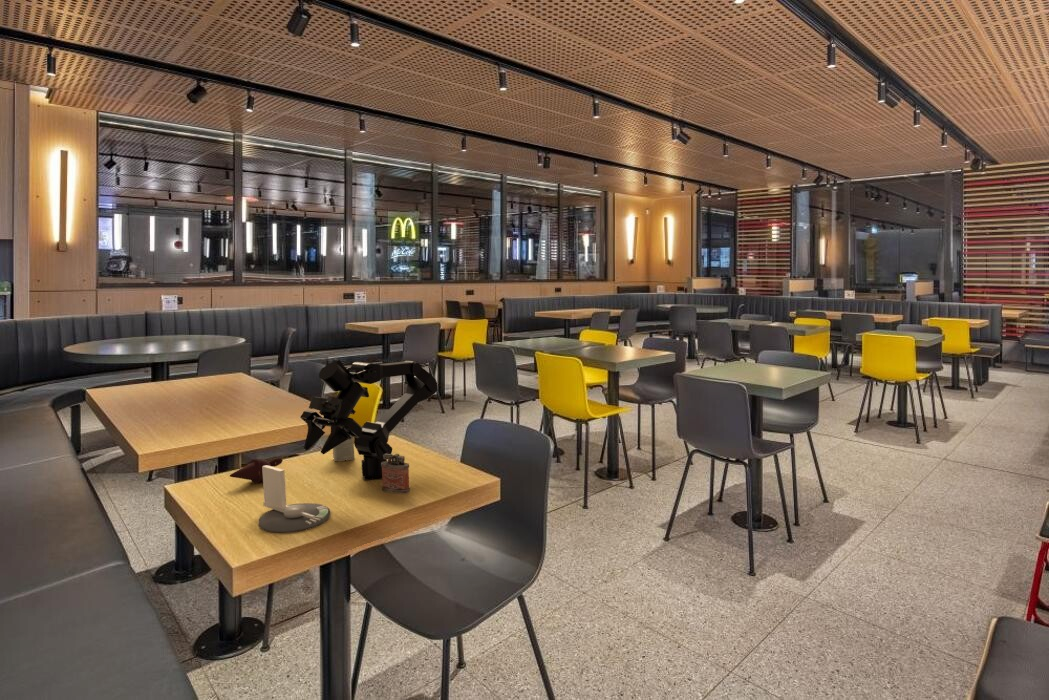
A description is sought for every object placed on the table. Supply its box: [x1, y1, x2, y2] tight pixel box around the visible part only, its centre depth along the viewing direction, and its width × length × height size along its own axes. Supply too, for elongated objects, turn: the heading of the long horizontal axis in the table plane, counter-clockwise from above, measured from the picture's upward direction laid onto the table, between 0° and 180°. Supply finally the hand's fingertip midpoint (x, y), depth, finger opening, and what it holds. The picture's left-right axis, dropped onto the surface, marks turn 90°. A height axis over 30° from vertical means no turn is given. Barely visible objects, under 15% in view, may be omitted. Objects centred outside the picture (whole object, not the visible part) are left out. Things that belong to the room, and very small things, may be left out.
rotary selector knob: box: [262, 465, 315, 519], centre depth 147 cm, size 18×5×10 cm, turn 57°
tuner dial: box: [258, 502, 331, 534], centre depth 147 cm, size 16×16×1 cm
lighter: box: [381, 453, 411, 494], centre depth 165 cm, size 8×3×10 cm, turn 71°
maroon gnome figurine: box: [229, 456, 284, 485], centre depth 173 cm, size 7×7×15 cm
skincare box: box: [332, 435, 356, 462], centre depth 193 cm, size 6×4×12 cm
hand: (313, 451), depth 159 cm, fingers open, 6 cm apart
